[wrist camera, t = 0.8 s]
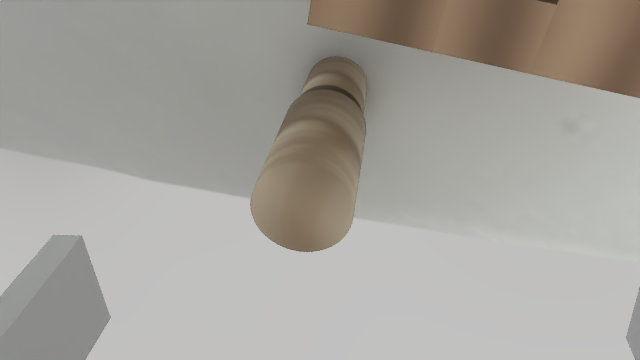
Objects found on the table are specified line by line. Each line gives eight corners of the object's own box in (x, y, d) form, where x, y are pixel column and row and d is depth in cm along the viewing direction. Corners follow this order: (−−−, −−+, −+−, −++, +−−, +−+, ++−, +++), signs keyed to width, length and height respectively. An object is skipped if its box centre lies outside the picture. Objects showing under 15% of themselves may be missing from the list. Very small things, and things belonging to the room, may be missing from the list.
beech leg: (297, 109, 38) (244, 239, 26) (308, 44, 35) (256, 154, 23) (363, 124, 37) (342, 261, 26) (379, 60, 35) (363, 178, 23)
